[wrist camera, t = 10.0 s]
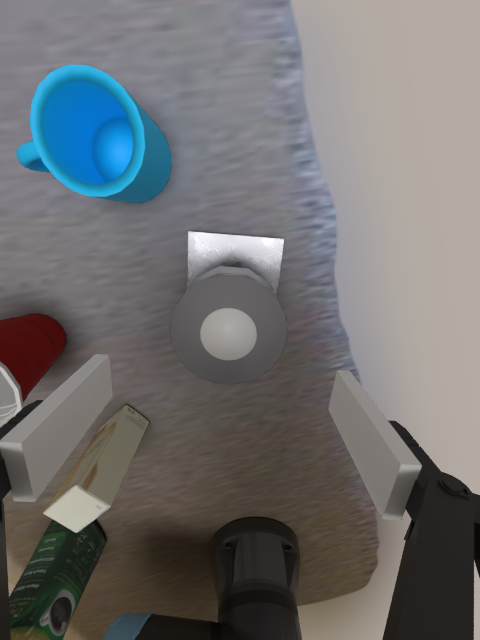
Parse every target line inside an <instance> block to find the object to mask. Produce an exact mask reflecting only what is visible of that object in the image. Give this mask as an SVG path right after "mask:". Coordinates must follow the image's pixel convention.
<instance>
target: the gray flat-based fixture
mask: <svg viewBox="0 0 480 640" xmlns="http://www.w3.org/2000/svg"><path fill="white" fill-rule="evenodd" d="M283 243H284V239H283V238H273V237H261V236H248V235H236V234H224V233H211V232H199V231H188V286H189V285H190V283H191V282H192V281H193V279H194V278H196V277H198V276H200V275H202V274H204V273H206V272H208V271H211V270H213V269H215V268H217V267H219V266H224V267H237V268H248V269H250V270H251V271H253V272H254V273H255V274H257V275H258V276H260V277H261V278H263V279H264V280H265V281H267V282H268V283H270V284H271V285H272V287H273V290H274V292H275V294H276V296H277V290H278V282H279V275H280V267H281V259H282V251H283Z"/></svg>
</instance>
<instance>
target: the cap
mask: <svg viewBox="0 0 480 640" xmlns="http://www.w3.org/2000/svg"><path fill="white" fill-rule="evenodd" d="M286 322H287V319H286V316H285V314H284V312H283V310H282V307H281V305H280V303H279V301H278V299H277V296H276V294H275V292H274V290H273V287H272V285H271V284H270V283H268V282H267V281H265V280H264V279H263V278H261V277H260V276H258V275H257V274H255V273H254V272H253V271H251V270H250V269H248V268H237V267H224V266H219V267H217V268H215V269H213V270H211V271H208V272H206V273H204V274H202V275H200V276H198V277H196V278H194V279H193V281H192V282H191V283H190V285H189V286H188V288H187V289H186V291H185V292H184V294H183V296H182V297H181V299H180V300H179V301H178V303H177V305H176V307H175V308H174V310H173V314H172V317H171V322H170V338H171V342H172V345H173V348H174V351H175V353H176V354H177V356H178V358H179V359H180V361H181V362H182V363H183V364H184V365H185V366H186V368H188V369H189V370H190V371H191V372H192V373H194V374H195V375H197V376H199V377H201V378H203V379H205V380H208V381H210V382H214V383H219V384H240V383H245V382H248V381H251V380H254V379H256V378H258V377H260V376H261V375H263V374H265V373H266V372H267V371H268V370H270V369H271V368H272V367H273V366H274V365H275V363H276V362H277V361H278V359H279V358H280V356H281V354H282V352H283V350H284V347H285V344H286V340H287V323H286Z"/></svg>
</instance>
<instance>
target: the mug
mask: <svg viewBox="0 0 480 640" xmlns="http://www.w3.org/2000/svg"><path fill="white" fill-rule="evenodd" d="M30 126H31V131H32V136H33V140H32V141H29V142H27V143H24V144H22V145H21V146H20V147H19V148H18V149H17V151H16V154H17V157H18V159H19V162H20V163H21V165H22V166H24V167H25V168H28V169H31V170H35V171H41V172H51V173H52V174H53V175H54V177H55V178H56V179H57V180H59V181H60V182H61V183H63V184H64V185H65V186H67V187H68V188H70V189H71V190H73V191H75V192H78V193H81V194H84V195H86V196H90V197H96V198H103V199H109V200H116V201H122V202H130V203H142V202H145V201H148V200H151V199H153V198H154V197H155V196H157V195H158V194H159V193H160V192H161V191H162V190H163V188H164V187H165V185H166V183H167V182H168V179H169V175H170V171H171V154H170V150H169V147H168V144H167V141H166V138H165V137H164V135H163V134H162V132H161V131H160V129H159V128H158V126H157V125H156V124H155V123H154V122H153V120H152V119H151V118H150V117H149V116H148V115H147V114H146V112H145V111H144V110H143V109H142V108H141V107H140V106H139V104H138V103H137V102H136V101H135V100H134V99H133V98H132V97H131V95H130V94H129V93H128V92H127V91H126V90H125V89H124V87H122V86H121V85H120V84H119V83H118V82H117V81H115V80H114V79H113V78H112V77H111V76H109V75H108V74H107V73H105V72H103V71H100V70H98V69H95V68H93V67H90V66H88V65H67V66H64V67H62V68H59V69H57V70H54V71H52V72H51V73H50V74H49V75H48V76H47V77H46V78H45V79H44V80H43V81H42V82H41V83H40V84H39V86H38V88H37V91H36V93H35V95H34V98H33V100H32V103H31V116H30Z"/></svg>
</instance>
